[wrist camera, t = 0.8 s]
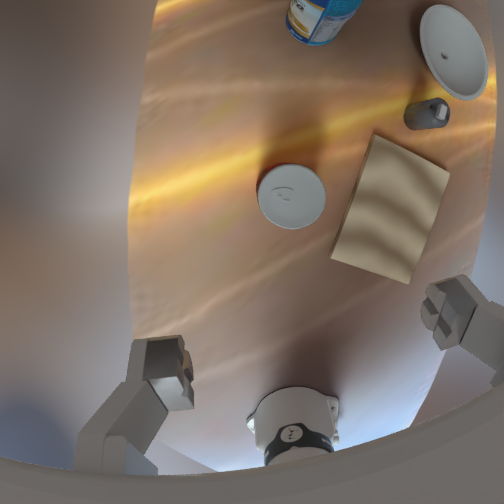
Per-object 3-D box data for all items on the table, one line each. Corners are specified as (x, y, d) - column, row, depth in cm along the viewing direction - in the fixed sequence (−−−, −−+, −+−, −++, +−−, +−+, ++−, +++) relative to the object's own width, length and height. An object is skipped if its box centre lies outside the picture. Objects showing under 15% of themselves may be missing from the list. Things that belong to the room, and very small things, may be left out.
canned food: (252, 166, 46) (253, 167, 36) (306, 160, 46) (323, 160, 35) (259, 217, 48) (261, 234, 38) (312, 211, 48) (329, 226, 38)
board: (404, 281, 51) (408, 284, 50) (328, 255, 50) (330, 258, 49) (445, 172, 46) (450, 173, 45) (371, 135, 45) (375, 134, 43)
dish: (401, 4, 38) (413, -7, 33) (465, 25, 38) (480, 18, 33) (410, 95, 43) (425, 90, 38) (475, 111, 43) (492, 109, 38)
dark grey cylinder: (425, 110, 43) (455, 104, 35) (419, 133, 45) (449, 131, 36) (408, 100, 43) (436, 92, 34) (401, 124, 44) (429, 119, 36)
